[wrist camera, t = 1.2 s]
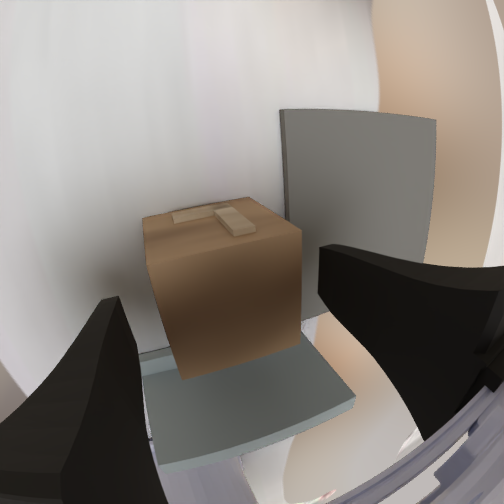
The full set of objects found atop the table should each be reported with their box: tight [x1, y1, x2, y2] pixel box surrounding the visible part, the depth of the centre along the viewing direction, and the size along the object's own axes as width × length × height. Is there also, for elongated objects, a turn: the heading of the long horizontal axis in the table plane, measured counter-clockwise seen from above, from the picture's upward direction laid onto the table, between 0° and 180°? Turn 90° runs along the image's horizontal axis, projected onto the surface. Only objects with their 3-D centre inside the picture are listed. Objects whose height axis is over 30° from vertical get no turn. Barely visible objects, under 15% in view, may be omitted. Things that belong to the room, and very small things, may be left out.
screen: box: [139, 331, 356, 474], centre depth 13 cm, size 3×9×6 cm, turn 95°
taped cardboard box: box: [142, 197, 302, 380], centre depth 11 cm, size 5×5×5 cm
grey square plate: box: [280, 109, 436, 321], centre depth 15 cm, size 11×11×1 cm
